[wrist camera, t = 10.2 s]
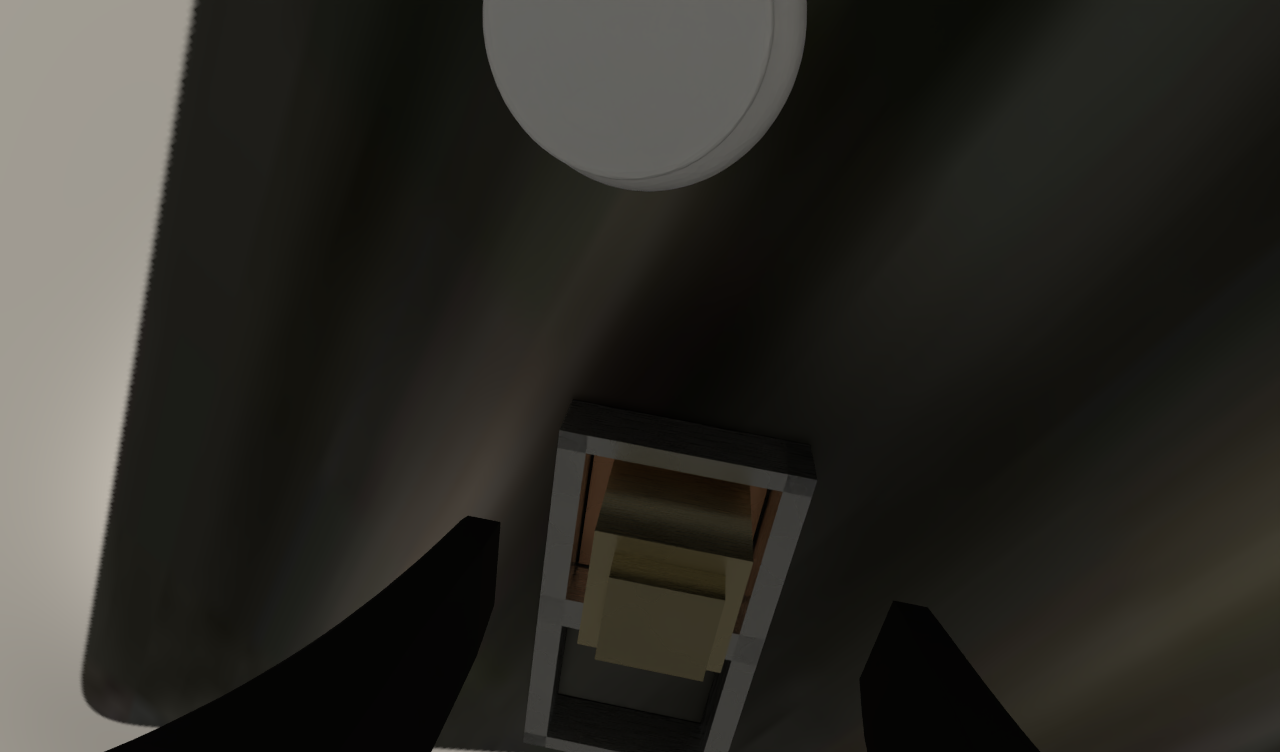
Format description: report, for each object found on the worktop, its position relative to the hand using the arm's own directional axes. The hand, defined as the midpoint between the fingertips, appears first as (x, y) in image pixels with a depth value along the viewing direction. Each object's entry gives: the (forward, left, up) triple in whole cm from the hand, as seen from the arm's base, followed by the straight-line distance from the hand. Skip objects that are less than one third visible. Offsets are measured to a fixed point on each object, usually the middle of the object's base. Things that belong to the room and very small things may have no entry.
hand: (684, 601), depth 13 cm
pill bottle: (+9, +2, -11) cm, 14 cm away
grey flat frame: (-10, 0, -10) cm, 14 cm away
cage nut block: (-6, 0, -10) cm, 12 cm away
